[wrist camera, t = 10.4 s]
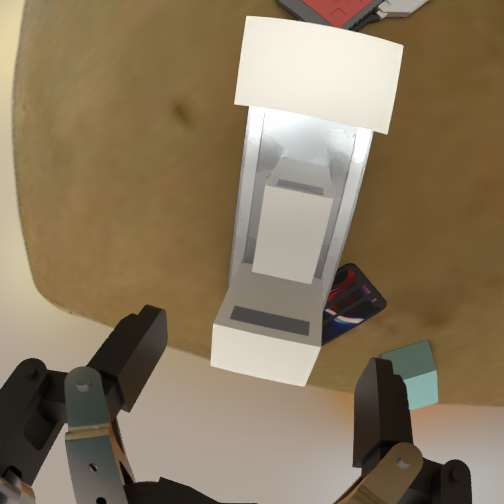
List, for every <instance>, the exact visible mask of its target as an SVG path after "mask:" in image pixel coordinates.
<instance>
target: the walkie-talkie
mask: <svg viewBox="0 0 504 504" xmlns="http://www.w3.org/2000/svg"><path fill="white" fill-rule="evenodd" d="M427 1H431V0H276V2H277V3H278V5H280V6H281V7H282V8H284V9H285V10H286V11H287V12H289V13H290V14H291V15H293V16H294V17H295V18H296V19H298V20H299V21H301V22H307V23H313V24H319V25H325V26H330V27H335V28H340V29H344V30H349V31H353V32H357V31H358V30H359V29H360V28H362V27H363V26H364V25H366V24H367V23H369V22H374V21H376V20H378V19H379V20H380V21H381V20H382V19H383V18H385V17H407V16H409V15H410V14H411V13H413V12H414V11H415V10H416V9H418V8H419V7H420V6H422V5H423V4H424V3H426V2H427ZM374 10H375V13H376V14H375V15H374V16H373V17H369V15H370V14H372V13H373V12H374ZM366 17H367V18H366ZM365 18H366V19H365Z"/></svg>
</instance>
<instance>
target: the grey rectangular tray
mask: <svg viewBox="0 0 504 504" xmlns="http://www.w3.org/2000/svg"><path fill="white" fill-rule="evenodd" d="M372 136H373V131H372V130H368V129H365V128H361V127H357V126H353V125H349V124H344V123H340V122H336V121H331V120H327V119H322V118H317V117H312V116H307V115H302V114H296V113H291V112H285V111H279V110H273V109H266V108H259V107H252V106H249V112H248V120H247V127H246V135H245V143H244V151H243V159H242V167H241V175H240V183H239V191H238V200H237V208H236V217H235V225H234V234H233V243H232V252H231V261H230V270H229V280H228V289H229V287H230V285H231V283H232V280H233V278H234V276H235V274H236V271H237V269H238V267H239V265H240V263H241V264H243V263H244V262H245V263H249V264H253V262H254V255H255V249H256V242H257V236H258V229H259V223H260V216H261V210H262V203H263V196H264V190H265V185H266V183H267V181H268V179H269V177H270V176H271V174H272V172H273V170H274V168H275V167H276V165H277V163H278V161H279V159H280V158H287V159H292V160H297V161H302V162H307V163H312V164H316V165H321V166H326V167H329V169H330V176H331V184H332V191H333V199H334V200H333V204H332V208H331V212H330V216H329V220H328V224H327V228H326V232H325V236H324V240H323V243H322V247H321V251H320V255H319V258H318V262H317V266H316V269H315V273H314V277H315V278H320V280H321V281H323V310H322V313H323V311H324V308H325V305H326V302H327V299H328V296H329V293H330V290H331V287H332V284H333V281H334V277H335V274H336V271H337V268H338V265H339V261H340V258H341V255H342V252H343V248H344V245H345V242H346V238H347V235H348V231H349V228H350V224H351V221H352V217H353V213H354V210H355V206H356V202H357V198H358V195H359V191H360V187H361V183H362V179H363V175H364V171H365V167H366V162H367V158H368V154H369V150H370V145H371V141H372ZM228 289H227V292H228Z"/></svg>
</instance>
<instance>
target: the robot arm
mask: <svg viewBox="0 0 504 504" xmlns="http://www.w3.org/2000/svg"><path fill="white" fill-rule="evenodd" d="M167 339H168V334H167V320H166V311H165V310H164V309H161V308H158V307H154V306H151V305H145V306H144V307H143V309H142V310H141V311H140V313H139V314H138V315H136V314H133V313H132V314H130V315H128V316H127V317H125V318H123V319H122V320H121V321H120V322H119V323H118V325H117V326H116V327H115V329H114V331H112V333H111V334H110V335H109V338H107V339H106V340H105V342H104V343H103V344H102V346H101V347H100V348H99V350H98V351H97V352H96V354H95V355H94V356H93V358H92V359H91V360H90V362H89V363H88V364H87V365H86V366H83V367H78V368H75V369H73V370H72V371H70V372H69V373H66V372H59V371H52V370H47V368H46V366H45V364H44V363H43V362H42V361H41V360H39V359H35V358H29V359H26V360H24V361H22V362H21V363H20V364H19V365H18V366H17V367H16V369H15V370H14V371H13V373H12V374H11V375H10V377H9V378H8V380H7V381H6V382H5V384H4V385H3V387H2V388H1V389H0V504H35V495H34V491H33V489H32V488H31V486H32V484H33V482H34V480H35V478H36V476H37V474H38V472H39V470H40V468H41V466H42V464H43V462H44V460H45V458H46V457H47V455H48V453H49V451H50V449H51V447H52V445H53V443H54V441H55V440H56V438H57V436H58V434H59V432H60V430H61V429H62V427H63V425H64V423H68V429H69V430H68V432H67V433H66V434H65V444H66V451H67V458H68V464H69V469H70V475H71V480H72V484H73V489H74V494H75V498H76V502H77V504H256V503H220V502H217V501H215V500H213V499H211V498H210V497H207V496H206V495H204V494H202V493H200V492H199V491H197V490H195V489H193V488H191V487H189V486H186V485H183V484H180V483H177V482H174V481H171V480H168V479H165V478H162V477H160V479H159V482H149V481H148V482H147V481H146V482H137V483H136V481H135V478H134V475H133V472H132V469H131V467H130V464H129V462H128V459H127V456H126V452H125V449H124V445H123V441H122V437H121V433H120V429H119V425H118V420H117V417H116V416H117V415H118V413H119V411H120V409H122V410H124V411H127V412H130V411H131V409H132V407H133V405H134V404H135V402H136V400H137V398H138V396H139V395H140V393H141V391H142V389H143V388H144V386H145V384H146V382H147V380H148V379H149V377H150V375H151V373H152V371H153V369H154V368H155V366H156V364H157V363H158V361H159V359H160V357H161V356H162V354H163V352H164V350H165V348H166V345H167ZM407 398H408V394H407V387H406V384H405V383H404V381H403V379H402V377H401V376H400V375H397V374H394V372H393V365H392V361H391V360H387V359H381V358H374V357H372V358H371V359H370V361H369V363H368V364H367V366H366V368H365V370H364V371H363V373H362V375H361V377H360V378H359V380H358V382H357V385H356V388H355V393H354V445H353V467H356V468H362V474H361V476H360V477H359V478H358V479H357V480H356V481H355V482H354V483H353V484H352V485H351V486H350V487H349V488H348V489H347V490H346V491H345V492H344V493H343V494H342V495H341V496H340V497H339V498H338V499H337V500H336V501H335V502H334V503H333V504H472V490H471V475H470V470H469V468H468V466H467V465H466V464H465V463H464V462H462V461H460V460H456V459H455V460H450V461H448V462H447V463H446V464H444V465H443V464H439V463H436V462H433V461H430V460H428V459H425V458H424V457H423V456H422V453H421V451H420V450H419V449H418V448H417V447H416V446H415V445H414V444H413V437H412V427H411V418H410V409H409V401H408V399H407Z"/></svg>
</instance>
